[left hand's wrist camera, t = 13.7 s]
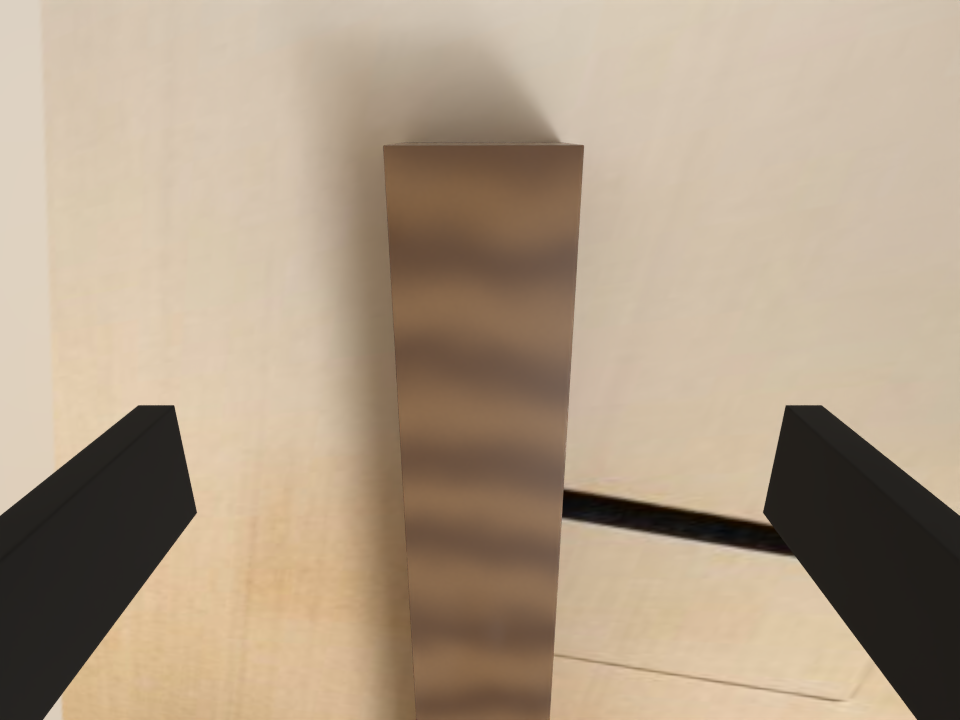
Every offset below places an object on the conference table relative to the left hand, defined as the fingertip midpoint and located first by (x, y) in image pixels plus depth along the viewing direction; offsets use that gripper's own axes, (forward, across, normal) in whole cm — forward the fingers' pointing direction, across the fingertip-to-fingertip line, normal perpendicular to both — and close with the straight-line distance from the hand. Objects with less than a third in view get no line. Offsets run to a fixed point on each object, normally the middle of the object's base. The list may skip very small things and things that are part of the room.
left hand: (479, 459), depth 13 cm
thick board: (+24, 0, -34) cm, 41 cm away
